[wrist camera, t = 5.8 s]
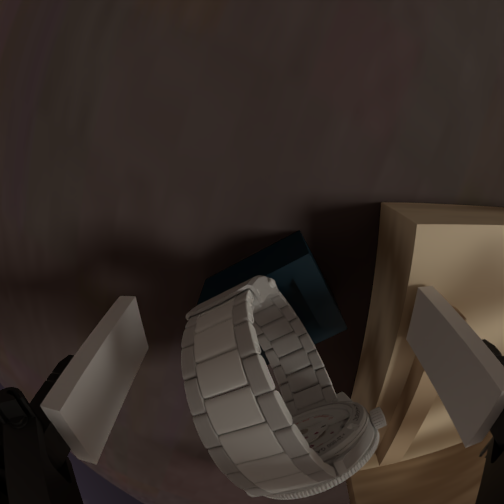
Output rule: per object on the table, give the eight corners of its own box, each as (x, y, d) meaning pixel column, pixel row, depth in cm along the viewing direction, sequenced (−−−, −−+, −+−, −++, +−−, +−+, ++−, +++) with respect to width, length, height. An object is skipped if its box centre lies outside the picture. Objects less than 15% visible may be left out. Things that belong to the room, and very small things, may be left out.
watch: (262, 359, 18) (264, 530, 8) (187, 252, 16) (96, 426, 5) (347, 320, 17) (411, 488, 7) (284, 198, 15) (341, 344, 4)
